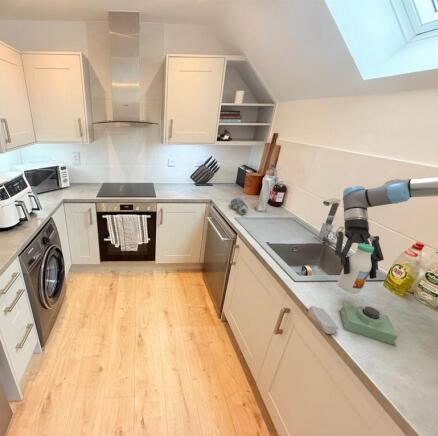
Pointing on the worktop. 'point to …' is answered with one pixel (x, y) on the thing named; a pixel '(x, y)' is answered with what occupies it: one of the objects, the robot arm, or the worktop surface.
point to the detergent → (239, 205)
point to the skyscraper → (264, 195)
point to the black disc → (371, 312)
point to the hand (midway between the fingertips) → (359, 275)
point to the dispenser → (368, 324)
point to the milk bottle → (357, 269)
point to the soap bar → (322, 320)
